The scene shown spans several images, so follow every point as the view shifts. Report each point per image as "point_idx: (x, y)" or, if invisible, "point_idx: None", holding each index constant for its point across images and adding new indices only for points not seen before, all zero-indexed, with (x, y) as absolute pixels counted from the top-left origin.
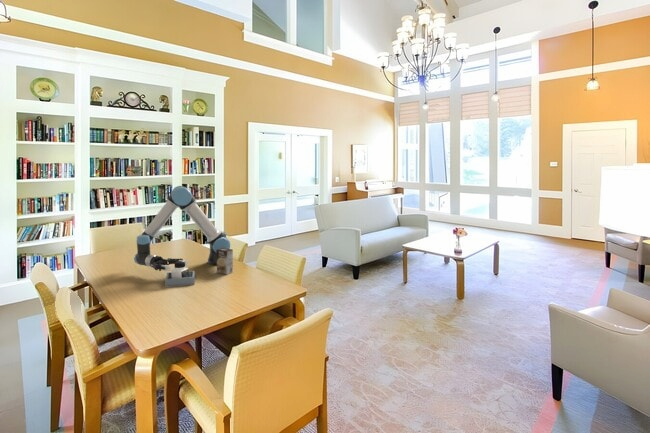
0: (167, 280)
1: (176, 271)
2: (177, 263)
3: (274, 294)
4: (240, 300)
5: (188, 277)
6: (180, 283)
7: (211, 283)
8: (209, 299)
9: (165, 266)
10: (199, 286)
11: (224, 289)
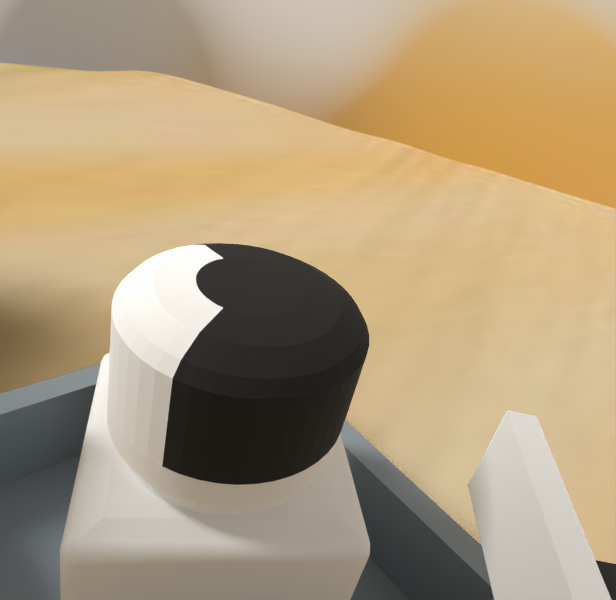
0: None
1: (341, 449)
2: (354, 304)
3: (226, 110)
4: (354, 167)
5: None
6: None
7: None
8: (430, 240)
9: (574, 531)
10: None
11: (248, 217)
